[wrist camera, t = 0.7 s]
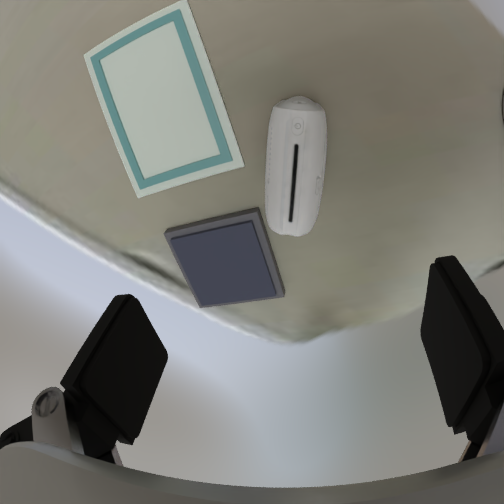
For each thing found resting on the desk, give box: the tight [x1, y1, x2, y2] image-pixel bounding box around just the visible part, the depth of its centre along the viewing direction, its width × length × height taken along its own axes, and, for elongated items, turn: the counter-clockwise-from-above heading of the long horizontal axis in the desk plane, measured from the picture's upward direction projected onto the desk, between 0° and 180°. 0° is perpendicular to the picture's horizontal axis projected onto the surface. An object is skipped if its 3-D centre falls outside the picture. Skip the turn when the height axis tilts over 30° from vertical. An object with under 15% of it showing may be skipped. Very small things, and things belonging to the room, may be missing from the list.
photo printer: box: [265, 96, 327, 237], centre depth 25 cm, size 10×4×12 cm, turn 179°
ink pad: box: [164, 207, 285, 308], centre depth 38 cm, size 12×12×2 cm
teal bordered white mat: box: [84, 0, 245, 198], centre depth 29 cm, size 14×20×1 cm
